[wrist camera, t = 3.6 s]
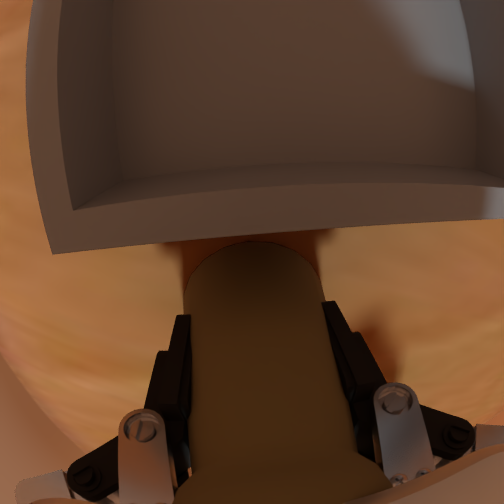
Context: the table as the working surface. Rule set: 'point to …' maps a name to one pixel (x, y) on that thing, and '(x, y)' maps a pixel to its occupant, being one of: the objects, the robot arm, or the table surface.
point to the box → (261, 116)
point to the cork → (267, 387)
